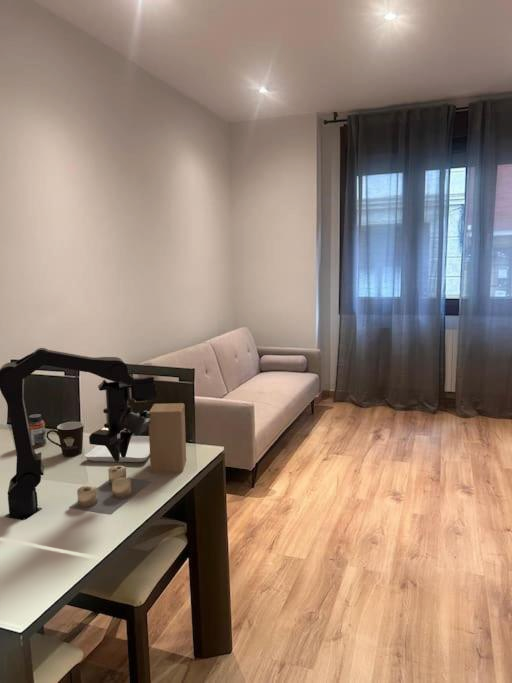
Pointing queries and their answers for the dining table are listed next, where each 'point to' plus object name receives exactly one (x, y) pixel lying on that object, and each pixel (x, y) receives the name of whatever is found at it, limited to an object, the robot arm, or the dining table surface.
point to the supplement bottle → (37, 430)
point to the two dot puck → (116, 473)
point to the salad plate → (135, 453)
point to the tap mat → (106, 497)
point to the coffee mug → (69, 438)
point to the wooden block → (167, 438)
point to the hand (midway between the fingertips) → (120, 459)
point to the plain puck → (121, 488)
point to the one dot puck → (87, 496)
